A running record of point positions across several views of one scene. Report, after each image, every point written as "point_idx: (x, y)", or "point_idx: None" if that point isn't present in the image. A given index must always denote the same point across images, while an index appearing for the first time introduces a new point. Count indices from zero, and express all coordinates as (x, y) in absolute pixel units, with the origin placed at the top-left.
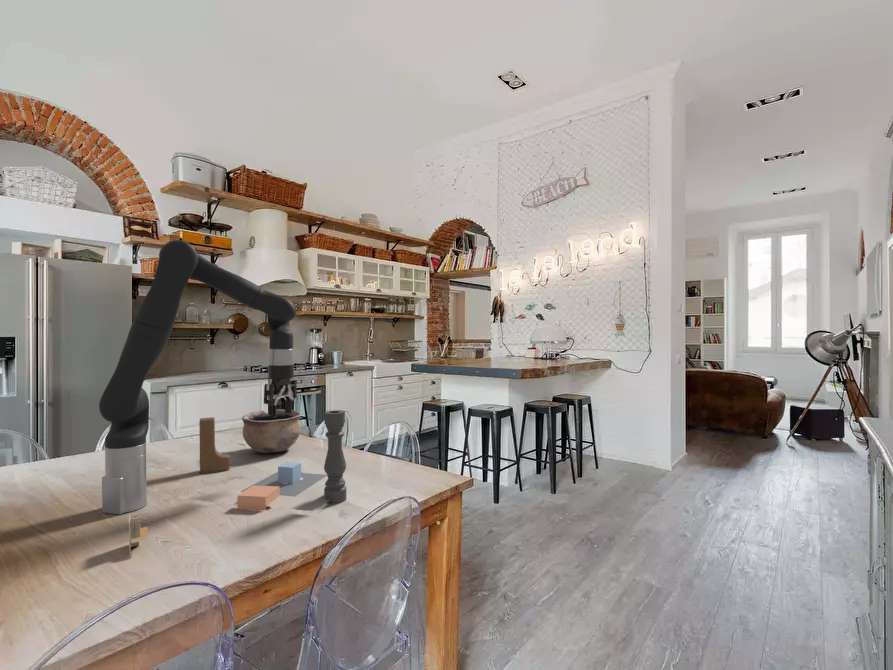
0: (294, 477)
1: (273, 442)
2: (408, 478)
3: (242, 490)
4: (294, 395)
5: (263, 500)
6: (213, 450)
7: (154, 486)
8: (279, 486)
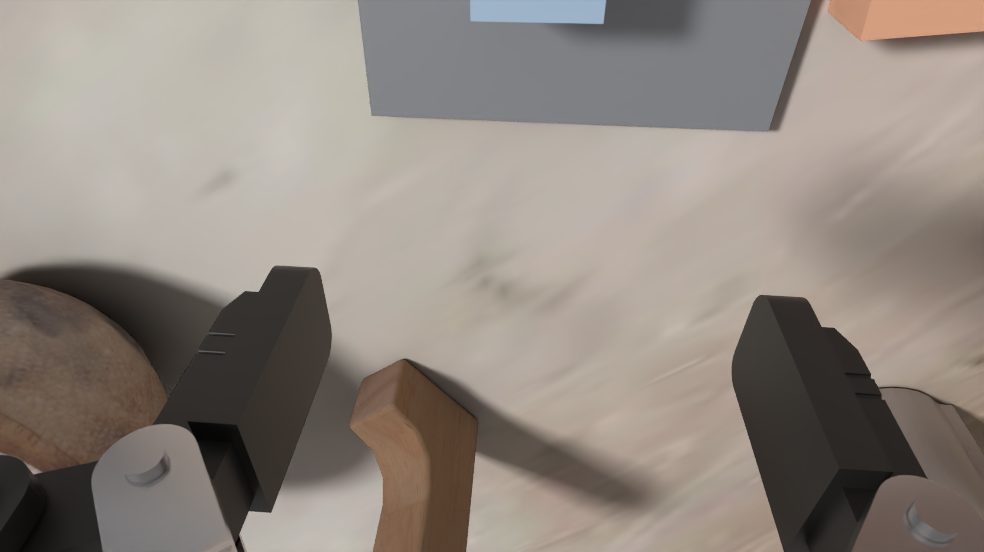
0: None
1: (101, 344)
2: None
3: (746, 128)
4: (3, 532)
5: None
6: (434, 478)
7: (643, 463)
8: None
